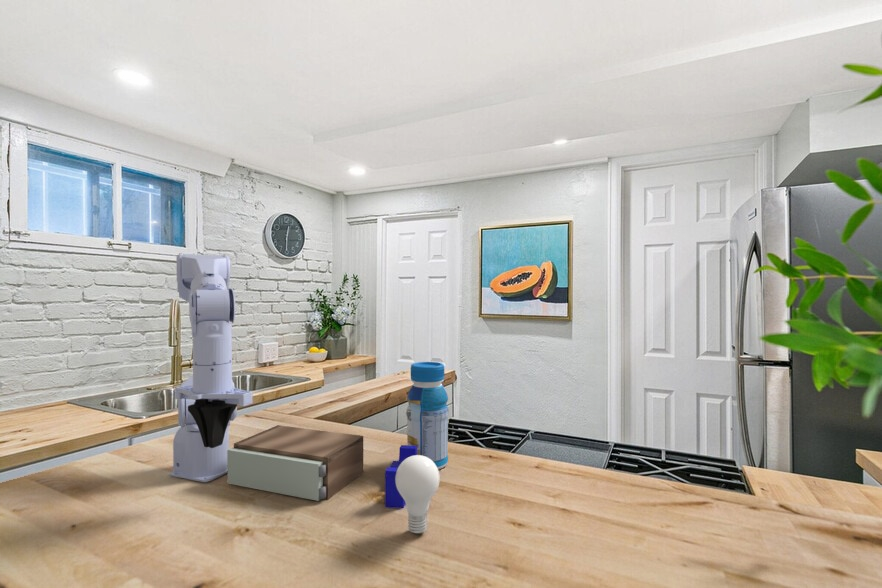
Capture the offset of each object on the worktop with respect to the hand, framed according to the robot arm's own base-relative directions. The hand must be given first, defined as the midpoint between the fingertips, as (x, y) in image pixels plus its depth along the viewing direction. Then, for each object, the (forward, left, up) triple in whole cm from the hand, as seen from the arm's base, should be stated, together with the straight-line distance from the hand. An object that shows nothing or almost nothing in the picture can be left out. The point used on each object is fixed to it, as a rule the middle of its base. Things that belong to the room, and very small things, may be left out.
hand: (213, 445), depth 74 cm
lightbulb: (+35, +3, -10) cm, 36 cm away
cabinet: (+7, +13, -9) cm, 18 cm away
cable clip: (+27, +14, -10) cm, 32 cm away
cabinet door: (+7, +6, -9) cm, 13 cm away
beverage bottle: (+27, +27, -10) cm, 39 cm away
